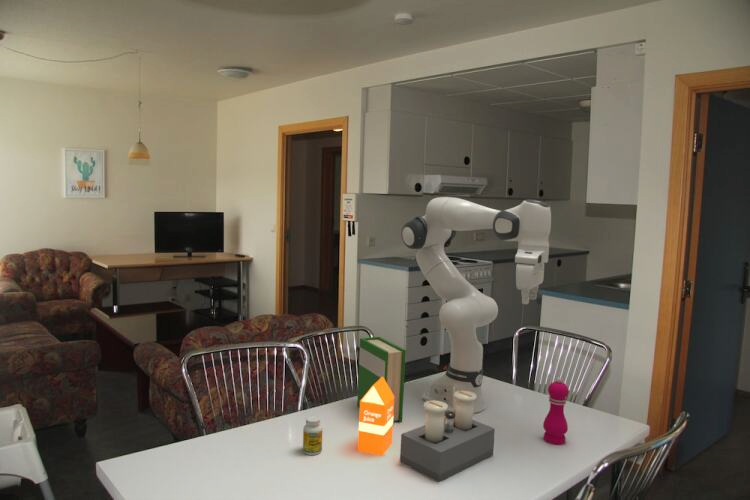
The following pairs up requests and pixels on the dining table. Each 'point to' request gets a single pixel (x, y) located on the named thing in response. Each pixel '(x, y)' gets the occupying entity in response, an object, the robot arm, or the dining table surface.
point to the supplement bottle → (312, 436)
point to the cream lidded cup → (464, 409)
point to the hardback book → (382, 370)
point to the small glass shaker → (449, 421)
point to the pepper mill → (556, 413)
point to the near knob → (434, 420)
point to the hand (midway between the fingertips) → (529, 301)
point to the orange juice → (376, 419)
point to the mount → (447, 450)
